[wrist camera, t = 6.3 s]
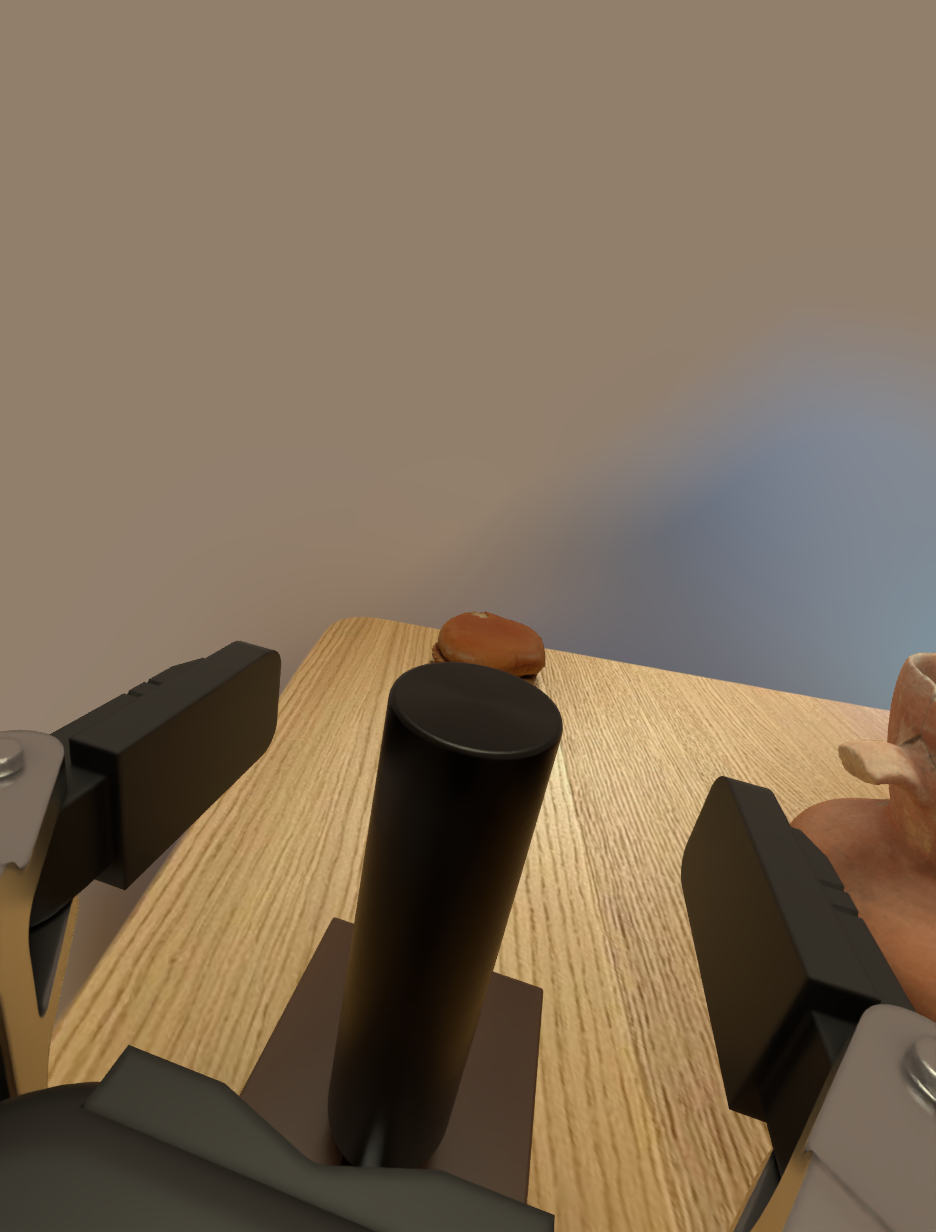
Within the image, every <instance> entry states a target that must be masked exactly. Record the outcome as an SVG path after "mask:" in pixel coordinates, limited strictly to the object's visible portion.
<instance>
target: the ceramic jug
mask: <svg viewBox="0 0 936 1232" xmlns="http://www.w3.org/2000/svg"><path fill="white" fill-rule="evenodd" d="M838 751H839V757H840V759H841V760H842V764H843V766H844V768H845V769H846V770H847V771H848V772H849V773H850V774H851V775H853V776H855V777H857V778H858V779H860V780H862V781H864V782H866V783H871V784H874V785H880V784H889V793H890V799H866V798H841V799H833V800H828V801H825V802H821V803H818V804H816V805H814V806H811V807H810V808H808V809H806V810H805V811H803V812H802V813H800V814H799V815H798V816H797V817H796V818H795V819H794V820H793V821H792V822H791V823H790V826H791V827H793V828H796V829H800V830H801V831H802V832H803V833H804V834H805V835H806V836H807V837H808V838H809V839H810V840H811V841H812V842H813V843H814V844H815V845H816V846H817V847H818V848H819V849H820V850H821V851H822V852H823V853H824V854H825V855H826V856H827V857H828V859H829V861H830V862H831V864H832V866H833V867H834V869H835V871H836V873H837V874H838V876H839V878H840V880H841V881H842V883H843V885H844V892H847V893H848V894H849V895H850V897H851V899H852V901H853V902H854V904H855V906H856V908H857V909H858V911H859V913H858V917H859V918H863V920H864V922H865V923H866V925H867V927H868V929H869V930H870V932H871V934H872V936H873V937H874V939H875V941H876V943H877V944H878V946H879V948H880V950H881V951H882V953H883V955H884V957H885V958H886V960H887V962H888V964H889V965H890V967H891V969H892V971H893V972H894V974H895V976H896V978H897V979H898V981H899V983H900V985H901V986H902V988H903V990H904V992H905V993H906V995H907V997H908V999H909V1000H910V1002H911V1004H912V1006H913V1007H914V1009H915V1011H916V1013H918V1014H920V1015H922V1016H924V1017H926V1018H928V1019H930V1020H931V1021H933V1022H935V1023H936V653H917V654H914V655H911V656H910V657H908V658H907V660H906V661H905V663H904V665H903V667H902V669H901V671H900V674H899V676H898V679H897V682H896V686H895V689H894V693H893V698H892V703H891V710H890V718H889V725H888V738H887V742H883V741H875V740H870V741H869V740H862V741H851V742H846V743H844V744H841V745H840V746H839V748H838Z"/></svg>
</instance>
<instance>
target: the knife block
mask: <svg viewBox="0 0 936 1232" xmlns="http://www.w3.org/2000/svg"><path fill="white" fill-rule="evenodd" d="M353 928H354V924H353V923H350V922H347V921H344V920H341V919H338V918H333V919H332V921H331V922H330V924H329V926H328V928H327V930H326V932H325V934H324V936H323V938H322V940H321V941H320V943H319V945H318V947H317V949H316V951H315V953H314V955H313V957H312V959H311V960H310V962H309V964H308V966H307V968H306V970H305V972H304V974H303V976H302V978H301V979H300V981H299V983H298V985H297V987H296V989H295V991H294V993H293V995H292V997H291V999H290V1000H289V1002H288V1004H287V1006H286V1008H285V1010H284V1012H283V1014H282V1016H281V1018H280V1019H279V1021H278V1023H277V1025H276V1027H275V1029H274V1031H273V1033H272V1035H271V1037H270V1038H269V1040H268V1042H267V1044H266V1046H265V1048H264V1050H263V1052H262V1054H261V1056H260V1057H259V1059H258V1061H257V1063H256V1065H255V1067H254V1069H253V1071H252V1073H251V1075H250V1076H249V1078H248V1080H247V1082H246V1084H245V1086H244V1088H243V1090H242V1092H241V1094H240V1096H239V1097H240V1098H241V1099H242V1100H244V1101H245V1102H246V1103H247V1104H248V1105H249V1106H250V1107H251V1108H252V1109H253V1110H255V1111H256V1112H257V1113H258V1114H259V1115H260V1116H261V1117H262V1118H263V1119H265V1120H266V1121H267V1122H268V1123H269V1124H270V1125H271V1126H272V1127H273V1128H274V1129H276V1130H277V1131H278V1132H279V1133H280V1134H281V1135H282V1136H283V1137H284V1138H286V1139H287V1140H288V1141H289V1142H290V1143H291V1144H292V1145H293V1146H294V1147H295V1148H297V1149H298V1150H299V1151H300V1152H301V1153H302V1154H303V1155H304V1156H306V1157H307V1158H308V1159H310V1160H311V1161H313V1162H316V1163H318V1164H322V1165H329V1166H353V1165H352V1164H351V1163H350V1162H349V1161H348V1160H347V1159H346V1158H345V1157H344V1155H343V1154H342V1153H341V1151H340V1150H339V1148H338V1146H337V1144H336V1142H335V1140H334V1138H333V1135H332V1132H331V1129H330V1125H329V1119H328V1092H329V1086H330V1079H331V1073H332V1066H333V1059H334V1053H335V1046H336V1040H337V1033H338V1027H339V1020H340V1013H341V1007H342V1000H343V994H344V987H345V981H346V974H347V967H348V961H349V954H350V948H351V941H352V935H353ZM542 1002H543V989H542V988H539V987H537V986H534V985H531V984H528V983H525V982H522V981H519V980H516V979H513V978H510V977H507V976H504V975H502V974H499V973H496V972H493V973H492V976H491V980H490V983H489V986H488V990H487V993H486V997H485V1000H484V1004H483V1007H482V1010H481V1014H480V1017H479V1021H478V1024H477V1027H476V1031H475V1034H474V1038H473V1041H472V1045H471V1048H470V1051H469V1055H468V1058H467V1062H466V1065H465V1069H464V1072H463V1075H462V1079H461V1082H460V1086H459V1089H458V1092H457V1096H456V1099H455V1103H454V1106H453V1110H452V1113H451V1116H450V1120H449V1123H448V1127H447V1129H446V1132H445V1135H444V1137H443V1139H442V1141H441V1143H440V1145H439V1146H438V1148H437V1149H436V1151H435V1152H434V1153H433V1155H432V1156H431V1157H430V1158H429V1159H428V1160H427V1161H426V1162H425V1163H424V1164H422V1165H421V1166H420V1167H418V1168H417V1169H432V1170H442V1171H445V1172H447V1173H450V1174H452V1175H455V1176H457V1177H460V1178H462V1179H465V1180H467V1181H470V1182H472V1183H475V1184H477V1185H480V1186H482V1187H485V1188H487V1189H490V1190H492V1191H495V1192H497V1193H500V1194H502V1195H505V1196H507V1197H510V1198H512V1199H515V1200H517V1201H520V1202H522V1203H525V1204H527V1197H528V1184H529V1171H530V1158H531V1145H532V1132H533V1119H534V1106H535V1093H536V1080H537V1067H538V1054H539V1041H540V1028H541V1015H542Z"/></svg>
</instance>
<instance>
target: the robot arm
mask: <svg viewBox="0 0 936 1232" xmlns="http://www.w3.org/2000/svg"><path fill="white" fill-rule="evenodd" d="M280 671H281V659H280V655H279V653H278V652H276V651H275V650H271V649H267V648H264V647H260V646H256V645H253V644H249V643H246V642H242V641H235V642H233V643H231V644H230V645H228V646H226V647H224V648H222V649H221V650H219V651H217V652H216V653H214V654H212V655H211V656H209V657H207V658H201V659H197V660H194V661H190V662H186V663H183V664H179V665H176V666H172V667H170V668H169V669H167V670H165V671H164V672H161V673H160V674H158V675H156V676H154V677H152V678H151V679H149V681H148V683H145V682H143V683H142V684H140V685H138V686H136V687H134V688H133V689H131V690H129V692H128V694H122V695H120V696H119V697H117V698H115V699H113V700H111V701H109V702H107V703H106V704H104V705H102V706H100V707H99V708H97V709H95V710H93V711H91V712H89V713H88V714H86V715H84V716H82V717H80V718H79V719H77V720H75V721H73V722H71V723H70V724H68V725H66V726H64V727H62V728H61V729H59V730H57V731H55V732H53V733H52V734H50V735H49V734H46V733H42V732H37V731H28V730H11V731H1V732H0V1232H554V1218H555V1215H552V1214H550V1213H547V1212H545V1211H542V1210H540V1209H537V1208H535V1207H532V1206H530V1205H527V1204H525V1203H522V1202H520V1201H517V1200H515V1199H512V1198H510V1197H507V1196H505V1195H502V1194H500V1193H497V1192H495V1191H492V1190H490V1189H487V1188H485V1187H482V1186H480V1185H477V1184H475V1183H472V1182H470V1181H467V1180H465V1179H462V1178H460V1177H457V1176H455V1175H452V1174H450V1173H447V1172H445V1171H442V1170H432V1169H406V1168H380V1167H355V1166H329V1165H322V1164H318V1163H316V1162H313V1161H311V1160H310V1159H308V1158H307V1157H306V1156H304V1155H303V1154H302V1153H301V1152H300V1151H299V1150H298V1149H297V1148H295V1147H294V1146H293V1145H292V1144H291V1143H290V1142H289V1141H288V1140H287V1139H286V1138H284V1137H283V1136H282V1135H281V1134H280V1133H279V1132H278V1131H277V1130H276V1129H274V1128H273V1127H272V1126H271V1125H270V1124H269V1123H268V1122H267V1121H266V1120H265V1119H263V1118H262V1117H261V1116H260V1115H259V1114H258V1113H257V1112H256V1111H255V1110H253V1109H252V1108H251V1107H250V1106H249V1105H248V1104H247V1103H246V1102H245V1101H244V1100H242V1099H241V1098H240V1097H239V1096H238V1095H237V1094H236V1093H235V1092H234V1091H233V1090H231V1089H230V1088H229V1087H228V1086H227V1085H226V1084H225V1083H223V1082H220V1081H218V1080H215V1079H213V1078H210V1077H208V1076H205V1075H203V1074H200V1073H198V1072H195V1071H193V1070H190V1069H188V1068H185V1067H183V1066H180V1065H178V1064H175V1063H173V1062H170V1061H168V1060H165V1059H163V1058H160V1057H158V1056H155V1055H153V1054H150V1053H148V1052H145V1051H143V1050H140V1049H138V1048H135V1047H133V1046H130V1045H128V1046H127V1048H126V1049H125V1050H124V1052H123V1053H122V1054H121V1056H120V1057H119V1058H118V1060H117V1061H116V1062H115V1064H114V1065H113V1066H112V1068H111V1069H110V1070H109V1072H108V1073H107V1074H106V1076H105V1077H104V1078H103V1080H102V1081H101V1082H86V1083H76V1084H66V1085H60V1086H55V1087H51V1088H48V1063H49V1051H50V1043H51V1037H52V1031H53V1026H54V1022H55V1017H56V1012H57V1007H58V1003H59V998H60V994H61V989H62V984H63V980H64V975H65V970H66V966H67V960H68V956H69V952H70V947H71V942H72V937H73V933H74V928H75V924H76V919H77V914H78V908H79V899H78V894H79V893H80V892H81V891H82V890H83V889H84V888H85V887H86V886H88V885H89V884H90V883H91V882H92V881H93V880H94V879H95V880H98V881H101V882H104V883H106V884H109V885H112V886H115V887H118V888H120V889H123V890H126V889H127V888H128V887H129V886H130V885H131V884H132V883H133V882H134V881H135V880H136V879H137V878H138V877H139V876H140V875H141V874H142V873H143V872H144V871H145V870H146V869H147V868H148V867H149V866H150V865H151V864H152V863H153V862H154V861H155V860H156V859H158V857H160V856H161V855H162V854H163V853H164V852H165V851H166V850H167V849H168V848H169V847H170V846H171V845H172V844H173V843H174V842H175V841H176V840H177V839H178V838H179V837H180V836H181V835H182V834H183V833H184V832H185V831H186V830H187V829H188V828H189V827H190V826H191V825H192V824H193V823H194V822H195V821H196V820H197V819H198V818H199V817H200V816H201V815H202V814H203V813H204V812H205V811H206V810H207V809H208V808H209V807H210V806H211V805H212V804H213V803H214V802H215V801H217V800H218V799H219V798H220V797H221V796H222V795H223V794H224V793H225V792H226V791H227V790H228V789H229V788H230V787H231V786H232V785H233V784H234V783H235V782H236V781H237V780H238V779H239V778H240V777H241V776H242V775H243V774H244V773H245V772H246V771H247V770H248V769H249V768H250V767H251V766H252V765H253V764H254V763H255V762H256V761H257V760H258V759H259V758H260V757H261V756H262V755H263V754H264V753H265V751H266V750H267V748H268V747H269V745H270V743H271V741H272V739H273V736H274V733H275V730H276V725H277V715H278V701H279V686H280ZM681 882H682V889H683V893H684V898H685V903H686V908H687V912H688V917H689V922H690V926H691V931H692V936H693V941H694V945H695V950H696V955H697V960H698V964H699V969H700V974H701V978H702V983H703V988H704V993H705V997H706V1002H707V1007H708V1012H709V1016H710V1021H711V1026H712V1030H713V1035H714V1040H715V1045H716V1049H717V1054H718V1059H719V1063H720V1068H721V1073H722V1078H723V1082H724V1087H725V1092H726V1097H727V1101H728V1106H729V1109H730V1110H733V1111H735V1112H738V1113H741V1114H744V1115H747V1116H749V1117H752V1118H755V1119H758V1120H761V1121H763V1122H766V1123H767V1127H768V1130H769V1134H770V1138H771V1142H772V1146H773V1147H772V1149H771V1150H770V1152H769V1153H768V1155H767V1156H766V1157H765V1159H764V1160H763V1162H762V1164H761V1166H760V1168H759V1170H758V1172H757V1174H756V1176H755V1178H754V1180H753V1182H752V1184H751V1186H750V1188H749V1190H748V1192H747V1194H746V1196H745V1198H744V1200H743V1202H742V1205H741V1207H740V1209H739V1211H738V1213H737V1215H736V1217H735V1219H734V1221H733V1223H732V1225H731V1227H730V1229H729V1231H728V1232H936V1023H935V1022H933V1021H931V1020H930V1019H928V1018H926V1017H924V1016H922V1015H920V1014H918V1013H916V1011H915V1009H914V1007H913V1006H912V1004H911V1002H910V1000H909V999H908V997H907V995H906V993H905V992H904V990H903V988H902V986H901V985H900V983H899V981H898V979H897V978H896V976H895V974H894V972H893V971H892V969H891V967H890V965H889V964H888V962H887V960H886V958H885V957H884V955H883V953H882V951H881V950H880V948H879V946H878V944H877V943H876V941H875V939H874V937H873V936H872V934H871V932H870V930H869V929H868V927H867V925H866V923H865V922H864V920H863V918H859V917H858V913H859V911H858V909H857V908H856V906H855V904H854V902H853V901H852V899H851V897H850V895H849V894H848V893H847V892H844V885H843V883H842V881H841V880H840V878H839V876H838V874H837V873H836V871H835V869H834V867H833V866H832V864H831V862H830V861H829V859H828V857H827V856H826V855H825V854H824V853H823V852H822V851H821V850H820V849H819V848H818V847H817V846H816V845H815V844H814V843H813V842H812V841H811V840H810V839H809V838H808V837H807V836H806V835H805V834H804V833H803V832H802V831H801V830H800V829H796V828H793V827H791V826H790V824H789V822H788V820H787V818H786V816H785V814H784V812H783V811H782V809H781V807H780V805H779V803H778V801H777V799H776V797H775V795H774V794H773V792H772V791H771V790H769V789H767V788H764V787H760V786H756V785H753V784H749V783H746V782H742V781H738V780H735V779H731V778H728V777H724V776H721V777H719V778H717V779H716V780H715V782H714V783H713V785H712V787H711V789H710V791H709V794H708V796H707V798H706V801H705V803H704V805H703V808H702V810H701V812H700V815H699V817H698V819H697V821H696V824H695V826H694V828H693V831H692V833H691V835H690V838H689V840H688V842H687V845H686V847H685V851H684V855H683V860H682V867H681Z"/></svg>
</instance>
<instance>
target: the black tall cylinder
mask: <svg viewBox="0 0 936 1232" xmlns="http://www.w3.org/2000/svg"><path fill="white" fill-rule="evenodd" d="M562 732H563V723H562V718H561V715H560V712H559V710H558V708H557V707H556V705H555V704H554V702H553V701H552V700H551V699H550V698H549V697H548V696H547V695H546V694H545V693H543V692H542V691H541V690H540V689H538V688H537V687H535V686H534V685H532V684H530V683H529V682H527V681H525V680H523V679H521V678H519V677H517V676H515V675H512V674H510V673H507V672H504V671H502V670H498V669H495V668H491V667H487V666H483V665H477V664H471V663H462V662H439V663H431V664H425V665H421V666H418V667H415V668H412V669H410V670H409V671H407V672H405V673H404V674H402V675H401V676H400V677H399V678H398V679H397V680H396V681H395V683H394V684H393V686H392V688H391V690H390V693H389V698H388V705H387V711H386V718H385V724H384V731H383V738H382V744H381V751H380V757H379V764H378V770H377V777H376V784H375V790H374V797H373V803H372V810H371V816H370V823H369V830H368V836H367V843H366V849H365V856H364V862H363V869H362V876H361V882H360V889H359V895H358V902H357V908H356V915H355V921H354V928H353V935H352V941H351V948H350V954H349V961H348V967H347V974H346V981H345V987H344V994H343V1000H342V1007H341V1013H340V1020H339V1027H338V1033H337V1040H336V1046H335V1053H334V1059H333V1066H332V1073H331V1079H330V1086H329V1092H328V1119H329V1125H330V1129H331V1132H332V1135H333V1138H334V1140H335V1142H336V1144H337V1146H338V1148H339V1150H340V1151H341V1153H342V1154H343V1155H344V1157H345V1158H346V1159H347V1160H348V1161H349V1162H350V1163H351V1164H352V1165H353V1166H355V1167H380V1168H406V1169H417V1168H418V1167H420V1166H421V1165H422V1164H424V1163H425V1162H426V1161H427V1160H428V1159H429V1158H430V1157H431V1156H432V1155H433V1153H434V1152H435V1151H436V1149H437V1148H438V1146H439V1145H440V1143H441V1141H442V1139H443V1137H444V1135H445V1132H446V1129H447V1127H448V1123H449V1120H450V1116H451V1113H452V1110H453V1106H454V1103H455V1099H456V1096H457V1092H458V1089H459V1086H460V1082H461V1079H462V1075H463V1072H464V1069H465V1065H466V1062H467V1058H468V1055H469V1051H470V1048H471V1045H472V1041H473V1038H474V1034H475V1031H476V1027H477V1024H478V1021H479V1017H480V1014H481V1010H482V1007H483V1004H484V1000H485V997H486V993H487V990H488V986H489V983H490V980H491V976H492V973H493V969H494V966H495V962H496V959H497V956H498V952H499V949H500V945H501V942H502V939H503V935H504V932H505V928H506V925H507V921H508V918H509V915H510V911H511V908H512V904H513V901H514V897H515V894H516V891H517V887H518V884H519V880H520V877H521V874H522V870H523V867H524V863H525V860H526V856H527V853H528V850H529V846H530V843H531V839H532V836H533V832H534V829H535V826H536V822H537V819H538V815H539V812H540V809H541V805H542V802H543V798H544V795H545V791H546V788H547V785H548V781H549V778H550V774H551V771H552V767H553V764H554V761H555V757H556V754H557V750H558V747H559V744H560V740H561V737H562Z"/></svg>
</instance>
